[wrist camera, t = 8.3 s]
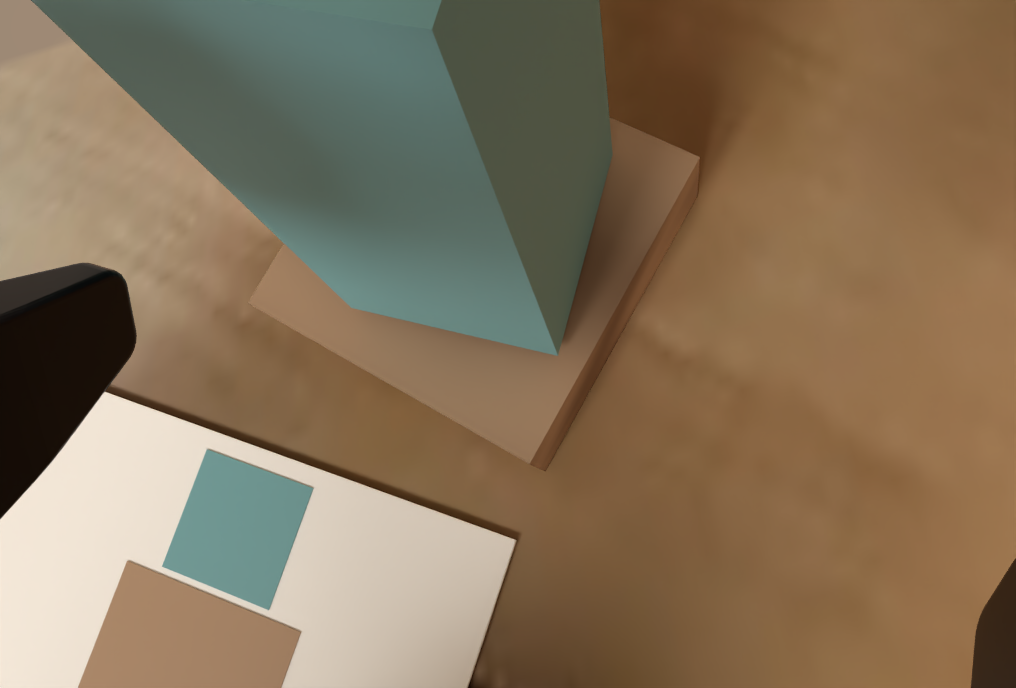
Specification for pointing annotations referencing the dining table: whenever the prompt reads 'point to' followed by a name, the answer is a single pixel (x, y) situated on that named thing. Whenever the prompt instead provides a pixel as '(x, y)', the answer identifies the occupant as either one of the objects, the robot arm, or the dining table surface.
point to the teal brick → (389, 139)
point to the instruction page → (231, 570)
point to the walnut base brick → (502, 367)
